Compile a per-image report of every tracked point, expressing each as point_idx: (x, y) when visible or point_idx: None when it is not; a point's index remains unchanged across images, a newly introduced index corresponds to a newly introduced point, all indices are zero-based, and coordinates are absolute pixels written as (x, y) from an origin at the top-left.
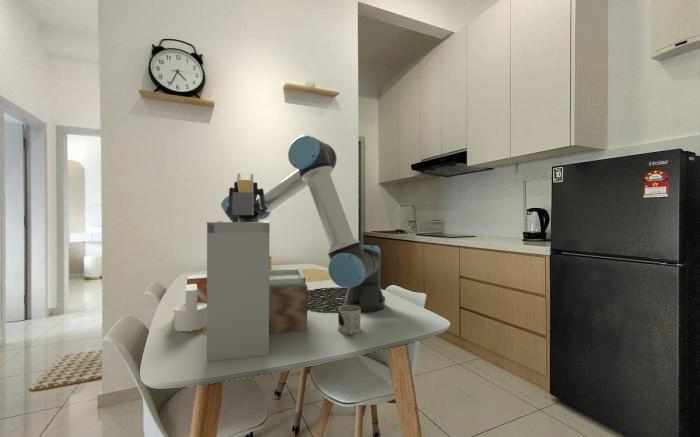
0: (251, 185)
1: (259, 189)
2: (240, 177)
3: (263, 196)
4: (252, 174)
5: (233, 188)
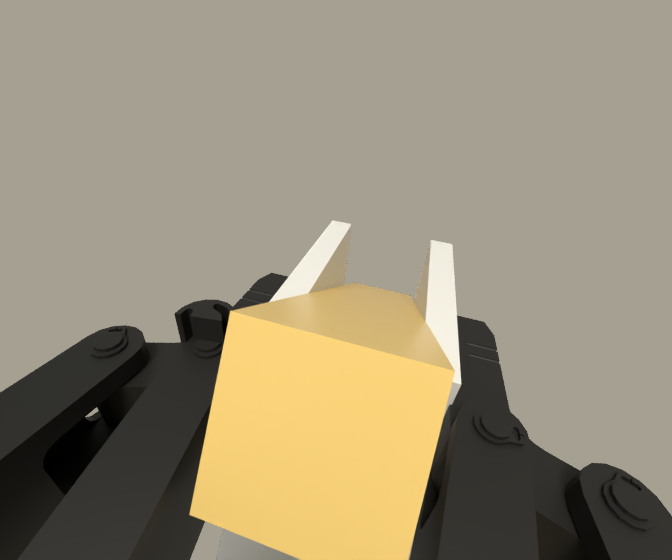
0: None
1: (169, 345)
2: (428, 266)
3: (74, 436)
4: (336, 225)
5: (542, 453)
